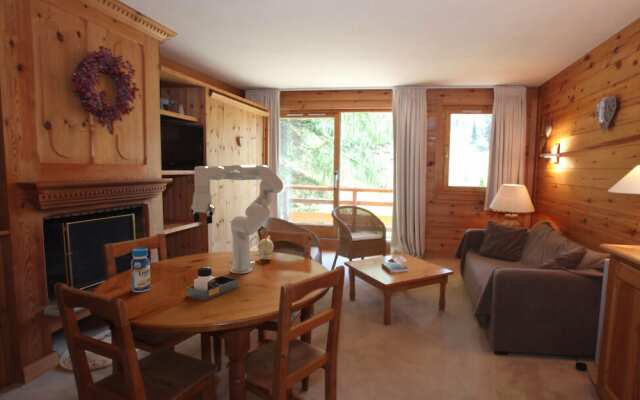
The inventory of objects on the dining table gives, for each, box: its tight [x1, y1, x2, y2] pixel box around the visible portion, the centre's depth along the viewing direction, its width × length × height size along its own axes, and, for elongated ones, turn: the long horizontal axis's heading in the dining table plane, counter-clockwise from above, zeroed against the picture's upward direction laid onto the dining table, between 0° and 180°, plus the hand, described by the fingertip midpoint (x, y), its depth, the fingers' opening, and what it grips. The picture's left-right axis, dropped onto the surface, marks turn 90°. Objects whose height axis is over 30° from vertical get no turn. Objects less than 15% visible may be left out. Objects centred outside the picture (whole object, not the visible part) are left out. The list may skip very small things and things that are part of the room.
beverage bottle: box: [130, 247, 152, 293], centre depth 176 cm, size 8×8×20 cm
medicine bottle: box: [193, 266, 217, 291], centre depth 171 cm, size 7×7×12 cm
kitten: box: [257, 235, 275, 261], centre depth 236 cm, size 15×10×15 cm
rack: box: [186, 275, 239, 302], centre depth 175 cm, size 22×12×4 cm, turn 149°
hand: (203, 222), depth 192 cm, fingers open, 9 cm apart
